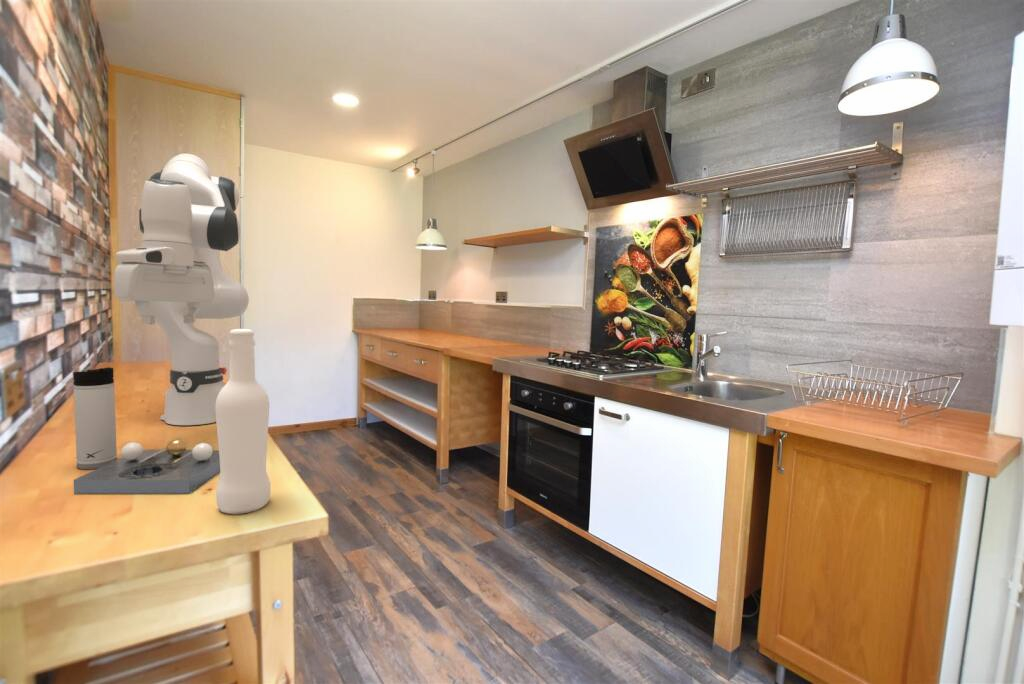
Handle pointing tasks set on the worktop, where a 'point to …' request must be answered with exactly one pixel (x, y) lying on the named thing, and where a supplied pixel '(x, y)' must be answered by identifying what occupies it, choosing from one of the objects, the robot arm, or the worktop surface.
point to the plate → (150, 474)
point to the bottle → (242, 432)
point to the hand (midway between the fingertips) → (169, 323)
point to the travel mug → (95, 418)
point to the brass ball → (176, 447)
